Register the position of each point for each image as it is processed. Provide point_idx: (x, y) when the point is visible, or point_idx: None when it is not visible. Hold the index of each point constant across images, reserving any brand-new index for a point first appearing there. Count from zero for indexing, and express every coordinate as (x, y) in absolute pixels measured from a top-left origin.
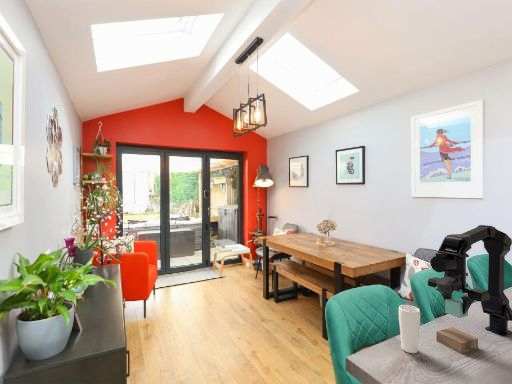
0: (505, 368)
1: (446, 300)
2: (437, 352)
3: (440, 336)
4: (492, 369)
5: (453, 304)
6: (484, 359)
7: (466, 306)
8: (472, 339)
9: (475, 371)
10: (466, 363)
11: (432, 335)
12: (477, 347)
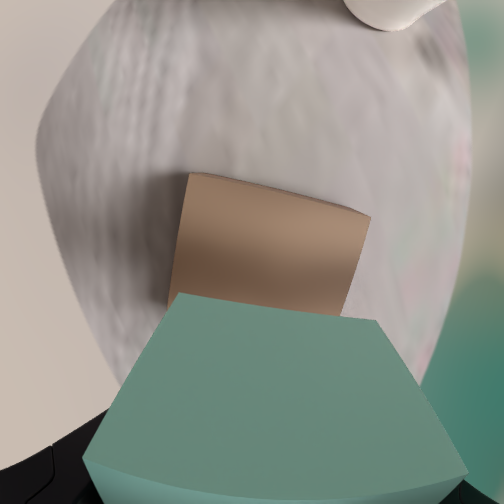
0: (54, 218)
1: (442, 467)
2: (287, 75)
3: (336, 206)
4: (73, 158)
5: (265, 446)
6: (118, 220)
7: (47, 456)
8: (173, 298)
9: (107, 72)
10: (151, 98)
11: (387, 257)
12: None
